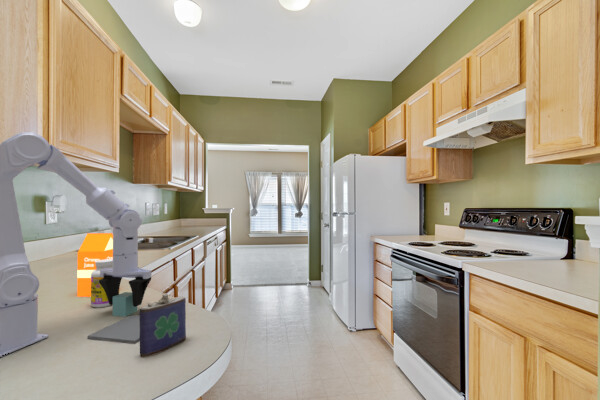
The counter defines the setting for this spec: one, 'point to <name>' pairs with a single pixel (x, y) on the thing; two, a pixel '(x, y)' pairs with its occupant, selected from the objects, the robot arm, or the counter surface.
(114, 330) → the mat
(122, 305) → the teal block
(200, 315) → the counter surface
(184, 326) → the flask
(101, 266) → the supplement bottle
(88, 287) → the orange juice
